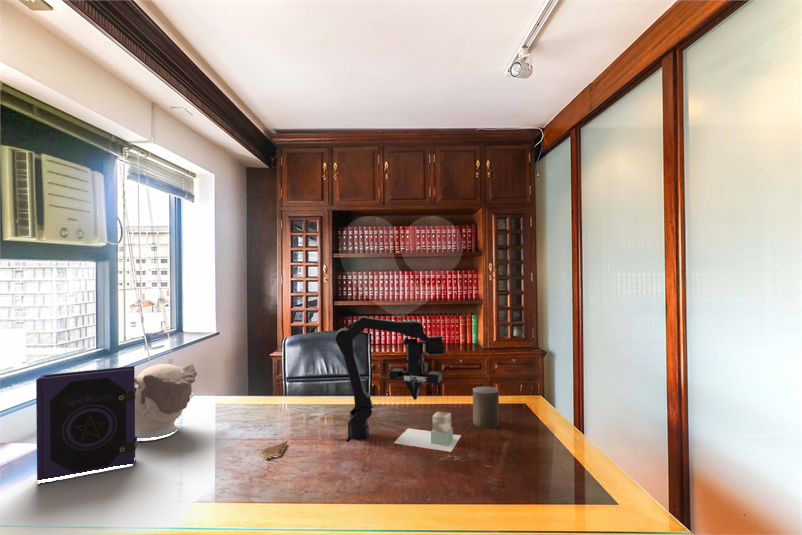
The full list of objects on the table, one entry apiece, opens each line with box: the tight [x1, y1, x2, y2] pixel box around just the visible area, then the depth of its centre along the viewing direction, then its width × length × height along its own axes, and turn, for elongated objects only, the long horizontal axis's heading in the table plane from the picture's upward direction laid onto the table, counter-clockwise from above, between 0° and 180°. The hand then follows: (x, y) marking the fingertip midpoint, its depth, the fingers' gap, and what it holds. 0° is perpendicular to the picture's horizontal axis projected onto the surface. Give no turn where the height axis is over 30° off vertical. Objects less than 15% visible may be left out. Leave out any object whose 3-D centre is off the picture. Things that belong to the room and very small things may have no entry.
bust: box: [135, 363, 198, 438], centre depth 156 cm, size 26×20×30 cm
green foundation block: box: [431, 426, 454, 446], centre depth 143 cm, size 6×6×4 cm
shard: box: [257, 441, 288, 458], centre depth 138 cm, size 11×8×2 cm
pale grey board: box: [393, 427, 462, 453], centre depth 145 cm, size 20×14×1 cm
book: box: [35, 365, 138, 481], centre depth 127 cm, size 24×6×30 cm, turn 117°
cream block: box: [432, 411, 452, 433], centre depth 143 cm, size 5×5×5 cm
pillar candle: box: [472, 386, 500, 429], centre depth 160 cm, size 10×10×15 cm
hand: (415, 399), depth 151 cm, fingers closed
